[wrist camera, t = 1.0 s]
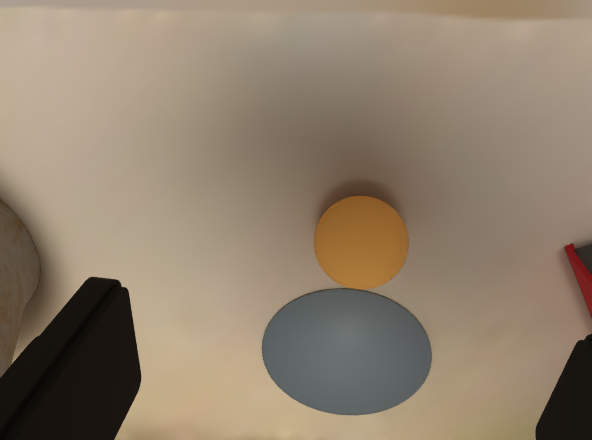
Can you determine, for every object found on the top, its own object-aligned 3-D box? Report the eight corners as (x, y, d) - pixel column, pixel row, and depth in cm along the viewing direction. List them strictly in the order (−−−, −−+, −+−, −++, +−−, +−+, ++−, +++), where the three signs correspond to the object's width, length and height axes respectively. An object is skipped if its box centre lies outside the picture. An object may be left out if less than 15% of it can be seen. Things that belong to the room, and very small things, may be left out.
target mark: (461, 380, 38) (462, 382, 38) (321, 430, 43) (321, 432, 43) (375, 260, 34) (375, 261, 34) (229, 331, 39) (228, 333, 38)
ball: (419, 232, 32) (432, 283, 27) (346, 268, 34) (344, 322, 29) (375, 164, 30) (379, 205, 25) (300, 207, 32) (290, 254, 27)
